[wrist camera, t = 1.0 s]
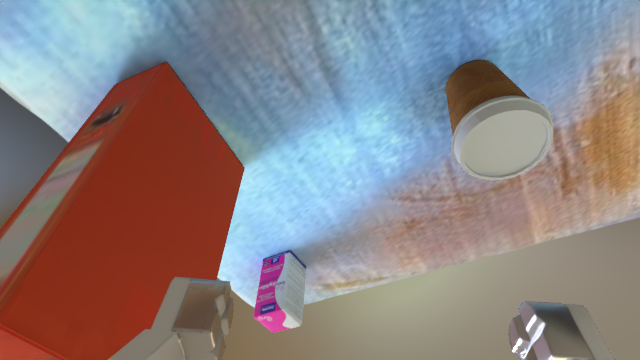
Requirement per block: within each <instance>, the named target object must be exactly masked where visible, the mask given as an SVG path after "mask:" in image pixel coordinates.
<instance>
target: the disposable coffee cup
mask: <svg viewBox="0 0 640 360" xmlns="http://www.w3.org/2000/svg"><path fill="white" fill-rule="evenodd" d="M446 96H447V102H448V108H449V115H450V122H451V128H452V134H453V138H452V143H451V149H452V155H453V158H454V160H455V161H456V163H457V164H458V165H459V166H460V167H461V168H462V169H464V170H466V171H467V172H468V173H469V174H470V175H472V176H474V177H476V178H479V179H483V180H492V181H497V180H505V179H509V178H513V177H515V176H518V175H520V174H522V173H525V172H527V171H528V170H530V169H532V168H533V167H534V166H536V165H537V164H538V163H540V161H541V160H542V159H543V158H544V157H545V156H546V155H547V153H548V151H549V150H550V148H551V145H552V142H553V129H554V123H553V119H552V115H551V114H550V112H549V111H548V109H547V108H546V107H545V106H544V105H542V104H541V103H539V102H537V101H536V100H533V99H530V98H529V97H528V96H527V95H526V94H525V93H524V92H523V91H522V90H521V89H519V87H517V86H516V85H515V84H514V83H513V82H512V81H511V80H510V79H509V78H508V77H507V76H506V75H505V74H504V73H503V72H502V71H501V70H499V68H497V66H496V65H494V64H493V63H491V62H489V61H485V60H476V61H471V62H468V63H465V64H464V65H462V66H460V67H459V68H457V69H456V70H455V71H454V72H453V73H452V74H451V76H450V77H449V79H448V81H447V84H446Z"/></svg>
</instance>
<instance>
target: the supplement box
mask: <svg viewBox="0 0 640 360" xmlns="http://www.w3.org/2000/svg"><path fill="white" fill-rule="evenodd" d="M305 276H306V266H305V265H304V264H303V263H302V262H301V261H300V260H299V259H298V258H297V257H296V256H295V255H294V254H293V253H292V252H291V251H287V252H285V253H282V254H279V255H276V256H272V257H269V258H266V259H263V265H262V271H261V276H260V282H259V288H258V294H257V300H256V305H255V311H254V318H255V319H256V320H258V321H259V322H260V323H262V324H263V325H264V326H265V327H266V328H268V329H269V330H270V331H271V332H272V333H274V332H277V331H282V330H285V329H290V328H294V327H298V326H301V325H302V314H303V302H304V289H305Z"/></svg>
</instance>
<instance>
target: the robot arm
mask: <svg viewBox="0 0 640 360" xmlns="http://www.w3.org/2000/svg"><path fill="white" fill-rule="evenodd" d="M230 291H231V286H230V281H218V280H208V279H197V278H185V277H175V278H174V279H173V280H172V281H171V283H170V285H169V288H168V290H167V292H166V295H165V297H164V299H163V302H162V304H161V306H160V308H159V311H158V313H157V315H156V318H155V320H154V322H153V325H152V327H151V329H145V330H143V331H142V332H141V333H140V334H139V335H137V336H136V337H135V338H134V339H132V340H131V341H130V342H129V343H128V344H126V345H125V346H124V347H123V348H122V349H120V350H119V351H118V352H117V353H115V354H114V355H113V356H112V357H111V358H109V359H108V360H222V359H223V355H224V352H225V348H226V345H225V340H224V336H226V335H227V334H228V333H229V332H230V328H231V324H232V318H233V299H232V298H231V297H230V296H229V295H230ZM519 312H520V315H518V316H516V317H514V318H513V320H512V321H511V323H510V325H509V341H510V345H511V348H512V351H513V353H514V354H515V355H516V356H517V357H518V358H519V359H520V360H615V359H614V357H613V356H612V354H611V352H610V350H609V348H608V346H607V345H606V343H605V341H604V339H603V337H602V336H601V334H600V332H599V330H598V328H597V327H596V325H595V323H594V321H593V319H592V317H591V316H590V314H589V312H588V310H587V309H586V308H585V307H584V306H583V305H575V304H561V303H549V302H531V301H525V302H523V303H522V304H521V305H520V307H519Z"/></svg>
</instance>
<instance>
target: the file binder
mask: <svg viewBox="0 0 640 360" xmlns="http://www.w3.org/2000/svg"><path fill="white" fill-rule="evenodd" d="M243 172H244V167H243V165H242V164H241V163H240V161H239V160H238V159H237V157H236V156H235V154H234V153H233V152H232V150H231V149H230V148H229V146H228V145H227V143H226V142H225V141H224V139H223V138H222V137H221V135H220V134H219V133H218V131H217V130H216V128H215V127H214V126H213V124H212V123H211V122H210V120H209V119H208V117H207V116H206V115H205V113H204V112H203V111H202V109H201V108H200V107H199V105H198V104H197V102H196V101H195V100H194V98H193V97H192V96H191V94H190V93H189V91H188V90H187V89H186V87H185V86H184V85H183V83H182V82H181V81H180V79H179V78H178V76H177V75H176V74H175V72H174V71H173V70H172V68H171V67H170V65H169V64H168V63H167V62H166V63H162V64H160V65H158V66H155V67H153V68H151V69H149V70H146V71H144V72H142V73H139V74H137V75H135V76H133V77H130V78H128V79H126V80H124V81H121V82H119V83H117V84H116V85H114V86H113V88H112V89H111V90H110V91H109V93H108V94H107V95H106V96H105V98H104V99H103V100H102V101H101V103H100V104H99V105H98V107H97V108H96V109H95V110H94V112H93V113H92V114H91V115H90V117H89V118H88V119H87V120H86V122H85V123H84V124H83V126H82V127H81V128H80V129H79V131H78V132H77V133H76V134H75V136H74V137H73V138H72V139H71V141H70V142H69V143H68V145H67V146H66V147H65V148H64V150H63V151H62V152H61V153H60V155H59V156H58V157H57V158H56V160H55V161H54V163H53V164H52V165H51V166H50V168H49V169H48V170H47V171H46V172H45V174H44V175H43V176H42V177H41V179H40V180H39V181H38V183H37V184H36V185H35V186H34V188H33V189H32V190H31V191H30V193H29V194H28V195H27V196H26V198H25V199H24V200H23V202H22V203H21V204H20V205H19V207H18V208H17V209H16V210H15V212H14V213H13V214H12V215H11V217H10V218H9V219H8V221H7V222H6V223H5V225H4V226H3V227H2V228H1V229H0V360H108V359H109V358H111V357H112V356H113V355H114V354H115V353H117V352H118V351H119V350H120V349H122V348H123V347H124V346H125V345H126V344H128V343H129V342H130V341H131V340H132V339H134V338H135V337H136V336H137V335H139V334H140V333H141V332H142V331H143V330H145V329H151V327H152V325H153V322H154V320H155V318H156V315H157V313H158V311H159V308H160V306H161V304H162V302H163V299H164V297H165V295H166V292H167V290H168V288H169V285H170V283H171V281H172V280H173V279H174V278H175V277H185V278H197V279H208V280H216V279H217V275H218V271H219V267H220V263H221V259H222V255H223V251H224V247H225V243H226V239H227V235H228V231H229V227H230V223H231V219H232V215H233V211H234V207H235V203H236V199H237V195H238V191H239V187H240V183H241V179H242V175H243Z"/></svg>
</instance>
